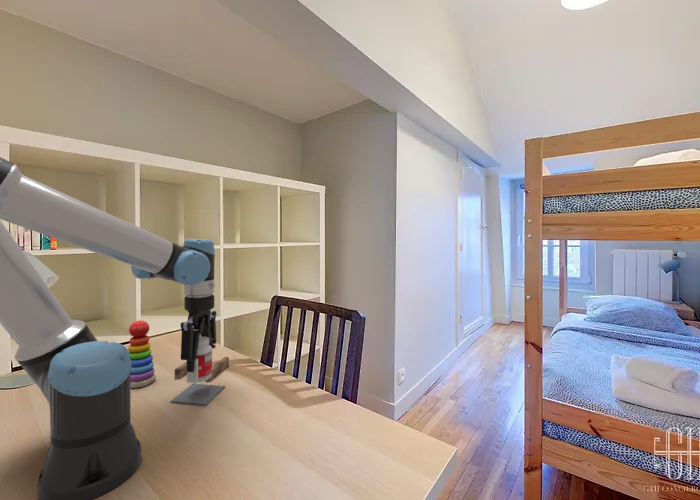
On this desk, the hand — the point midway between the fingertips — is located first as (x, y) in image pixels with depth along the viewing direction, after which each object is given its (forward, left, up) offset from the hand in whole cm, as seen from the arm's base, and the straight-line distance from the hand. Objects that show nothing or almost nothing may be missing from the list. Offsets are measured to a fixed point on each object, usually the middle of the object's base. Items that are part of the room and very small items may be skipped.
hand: (199, 376), depth 90 cm
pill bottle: (0, 0, -1) cm, 1 cm away
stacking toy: (+4, +21, -5) cm, 22 cm away
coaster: (0, 0, -5) cm, 5 cm away
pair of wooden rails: (+14, +7, -5) cm, 16 cm away
